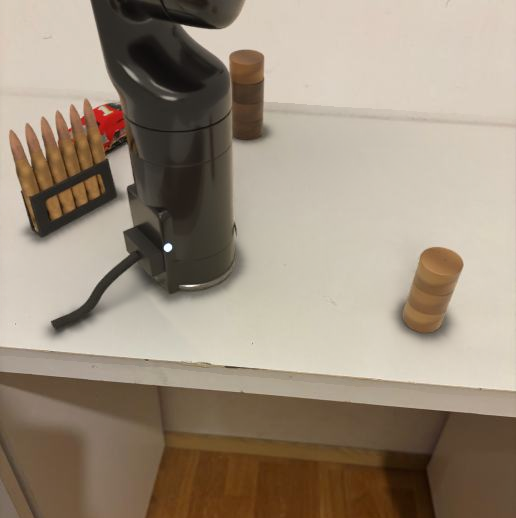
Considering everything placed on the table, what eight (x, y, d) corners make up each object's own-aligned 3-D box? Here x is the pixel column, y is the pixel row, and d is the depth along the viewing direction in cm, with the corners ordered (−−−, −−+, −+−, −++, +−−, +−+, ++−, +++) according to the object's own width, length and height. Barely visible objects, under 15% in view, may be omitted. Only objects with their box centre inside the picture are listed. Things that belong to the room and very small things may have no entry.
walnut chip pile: (243, 143, 77) (243, 88, 71) (224, 130, 79) (223, 75, 73) (269, 133, 79) (271, 79, 73) (249, 120, 81) (250, 66, 75)
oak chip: (243, 88, 71) (243, 67, 69) (222, 75, 73) (222, 54, 72) (270, 78, 73) (271, 58, 71) (249, 66, 75) (250, 46, 73)
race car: (78, 170, 72) (70, 141, 69) (51, 155, 74) (43, 126, 71) (155, 130, 79) (151, 101, 76) (128, 116, 81) (123, 88, 78)
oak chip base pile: (423, 339, 55) (444, 281, 49) (394, 315, 57) (411, 257, 51) (449, 321, 56) (472, 263, 50) (420, 299, 58) (439, 241, 52)
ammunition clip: (108, 190, 69) (87, 92, 60) (117, 196, 69) (98, 98, 59) (31, 230, 64) (-4, 130, 55) (41, 237, 63) (7, 137, 54)
